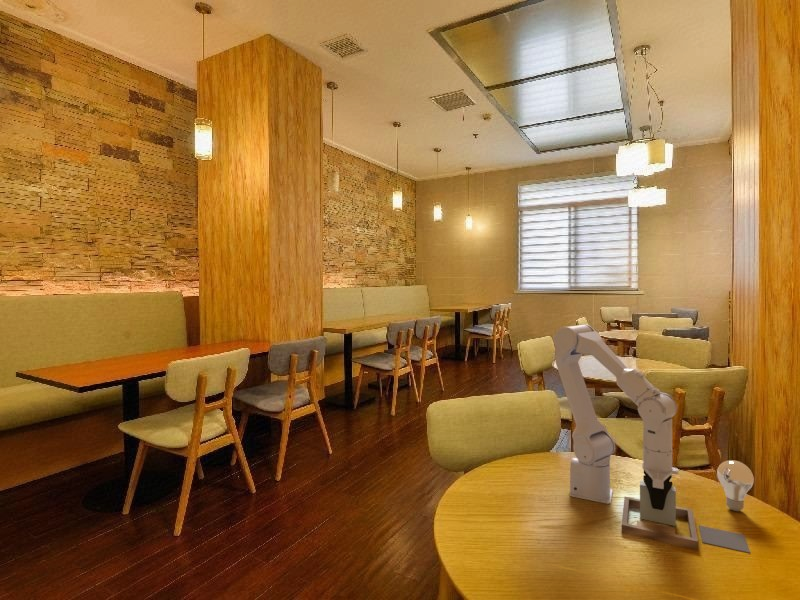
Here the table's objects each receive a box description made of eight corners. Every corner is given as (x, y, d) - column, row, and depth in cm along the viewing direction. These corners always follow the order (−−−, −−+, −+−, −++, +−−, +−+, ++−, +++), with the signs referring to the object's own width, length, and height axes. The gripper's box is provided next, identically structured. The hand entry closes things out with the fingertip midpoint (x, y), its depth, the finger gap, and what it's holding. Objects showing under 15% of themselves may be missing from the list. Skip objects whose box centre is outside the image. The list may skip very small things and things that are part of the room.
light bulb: (760, 519, 101) (760, 468, 100) (725, 517, 102) (726, 466, 102) (743, 504, 108) (743, 456, 107) (711, 502, 109) (711, 454, 108)
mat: (702, 543, 93) (702, 541, 93) (699, 526, 99) (699, 525, 99) (750, 553, 89) (750, 552, 89) (743, 535, 95) (743, 534, 95)
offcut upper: (637, 532, 97) (637, 528, 97) (637, 524, 100) (637, 520, 100) (675, 540, 94) (675, 536, 94) (674, 532, 97) (674, 527, 97)
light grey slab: (640, 518, 102) (640, 484, 102) (640, 513, 104) (640, 480, 104) (675, 526, 99) (675, 491, 98) (675, 521, 101) (675, 486, 100)
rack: (621, 533, 97) (621, 524, 97) (624, 504, 109) (624, 496, 109) (698, 551, 90) (698, 541, 90) (692, 517, 102) (692, 509, 102)
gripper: (680, 462, 92) (680, 526, 93) (676, 439, 105) (676, 495, 106) (641, 456, 96) (641, 517, 96) (642, 435, 108) (642, 489, 109)
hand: (657, 505), depth 101 cm, fingers closed on light grey slab, 2 cm apart
